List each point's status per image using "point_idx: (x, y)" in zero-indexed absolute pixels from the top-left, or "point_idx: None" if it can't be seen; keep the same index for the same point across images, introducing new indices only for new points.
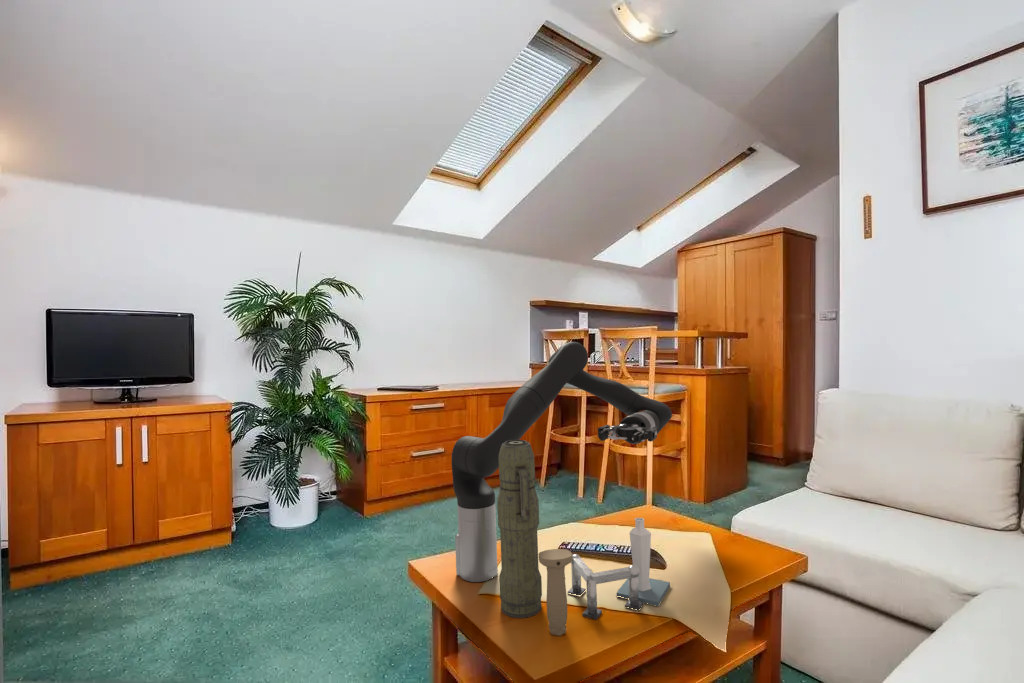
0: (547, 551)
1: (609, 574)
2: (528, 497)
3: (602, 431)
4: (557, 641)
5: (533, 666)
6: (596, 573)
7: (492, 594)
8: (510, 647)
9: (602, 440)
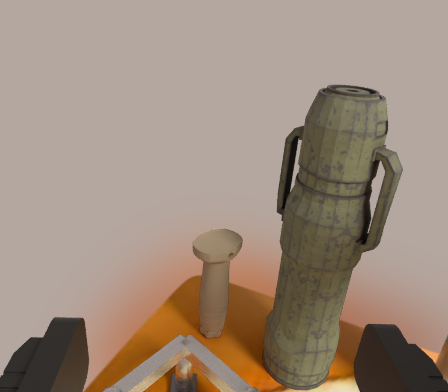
0: (233, 243)
1: (154, 354)
2: (281, 175)
3: (399, 347)
4: None
5: None
6: (178, 347)
7: None
8: (244, 292)
9: (358, 374)
